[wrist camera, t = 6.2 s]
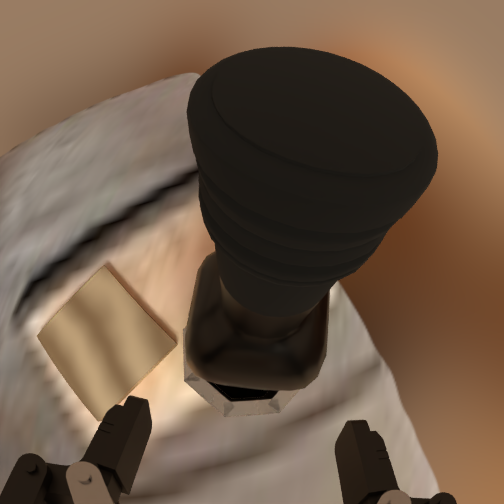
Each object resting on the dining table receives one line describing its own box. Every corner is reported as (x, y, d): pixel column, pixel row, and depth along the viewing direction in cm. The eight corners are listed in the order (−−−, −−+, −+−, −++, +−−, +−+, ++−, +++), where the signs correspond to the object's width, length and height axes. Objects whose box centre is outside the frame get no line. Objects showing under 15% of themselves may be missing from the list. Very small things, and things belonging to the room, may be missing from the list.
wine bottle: (221, 332, 31) (166, 14, 4) (274, 339, 31) (442, 62, 4) (214, 384, 29) (-22, 297, 2) (268, 390, 28) (557, 355, 2)
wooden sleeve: (249, 427, 27) (254, 440, 19) (176, 363, 29) (157, 354, 22) (312, 355, 30) (335, 344, 23) (240, 297, 33) (242, 268, 26)
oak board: (101, 420, 25) (98, 421, 24) (40, 337, 29) (36, 335, 28) (177, 344, 30) (175, 342, 29) (107, 268, 33) (104, 265, 33)
